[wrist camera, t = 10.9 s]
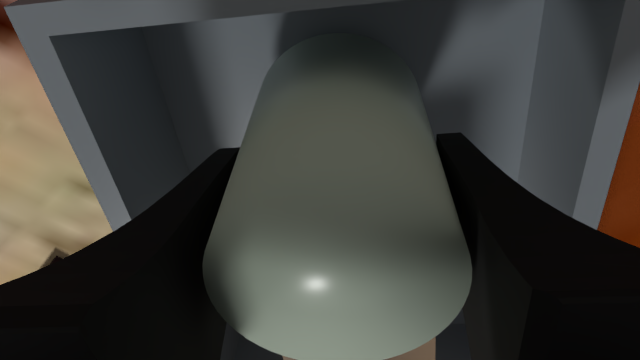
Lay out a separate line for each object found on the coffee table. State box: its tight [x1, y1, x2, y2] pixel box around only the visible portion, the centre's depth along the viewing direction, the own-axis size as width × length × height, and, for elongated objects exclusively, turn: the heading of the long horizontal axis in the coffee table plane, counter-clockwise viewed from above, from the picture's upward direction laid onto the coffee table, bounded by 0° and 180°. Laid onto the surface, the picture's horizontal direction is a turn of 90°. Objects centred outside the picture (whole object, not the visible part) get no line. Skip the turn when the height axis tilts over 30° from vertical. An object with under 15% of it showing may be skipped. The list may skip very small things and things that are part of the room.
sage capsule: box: [202, 33, 472, 360], centre depth 12 cm, size 5×5×7 cm
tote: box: [4, 0, 640, 360], centre depth 16 cm, size 17×13×5 cm
